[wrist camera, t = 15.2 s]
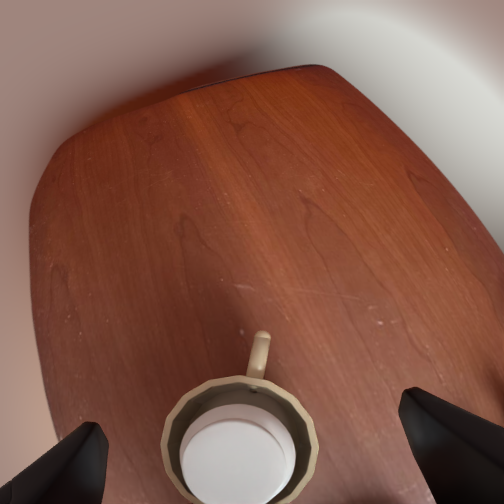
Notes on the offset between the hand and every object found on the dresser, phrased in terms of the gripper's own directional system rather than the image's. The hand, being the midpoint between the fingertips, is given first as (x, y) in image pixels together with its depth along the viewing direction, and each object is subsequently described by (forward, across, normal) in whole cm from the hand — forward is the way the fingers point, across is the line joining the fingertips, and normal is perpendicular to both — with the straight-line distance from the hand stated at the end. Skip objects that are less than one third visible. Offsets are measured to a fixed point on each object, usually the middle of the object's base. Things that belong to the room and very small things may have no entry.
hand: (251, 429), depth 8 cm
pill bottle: (+8, +1, +10) cm, 13 cm away
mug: (+10, +1, +10) cm, 14 cm away
